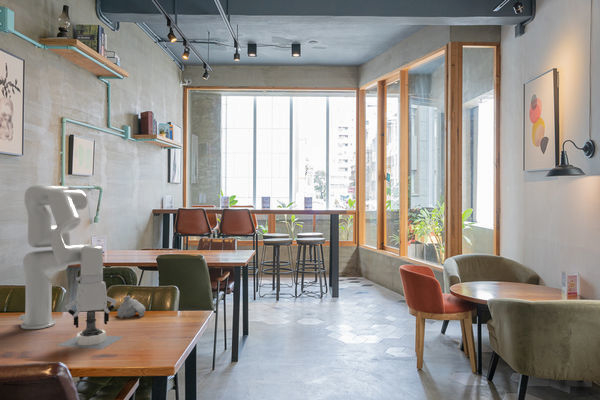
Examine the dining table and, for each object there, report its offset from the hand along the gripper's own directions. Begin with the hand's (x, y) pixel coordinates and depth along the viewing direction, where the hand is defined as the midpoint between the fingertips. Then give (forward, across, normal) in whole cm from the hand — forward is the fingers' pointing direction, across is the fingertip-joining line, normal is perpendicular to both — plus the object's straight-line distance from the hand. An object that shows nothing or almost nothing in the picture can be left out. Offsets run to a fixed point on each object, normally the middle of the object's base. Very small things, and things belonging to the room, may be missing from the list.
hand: (91, 325), depth 164 cm
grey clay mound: (+7, +20, +36) cm, 41 cm away
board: (+7, 0, 0) cm, 7 cm away
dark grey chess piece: (+6, 0, 0) cm, 6 cm away
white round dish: (+6, 0, 0) cm, 6 cm away
